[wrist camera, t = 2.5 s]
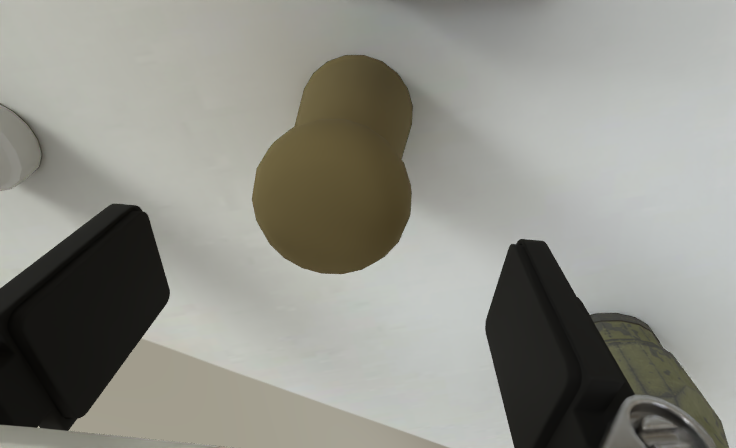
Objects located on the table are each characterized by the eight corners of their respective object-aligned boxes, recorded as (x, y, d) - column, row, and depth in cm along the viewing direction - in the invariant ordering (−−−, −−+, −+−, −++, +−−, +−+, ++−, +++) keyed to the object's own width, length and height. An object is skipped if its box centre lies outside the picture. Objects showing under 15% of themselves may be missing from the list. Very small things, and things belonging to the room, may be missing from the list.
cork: (303, 45, 19) (215, 109, 10) (424, 65, 19) (452, 148, 10) (297, 158, 22) (228, 288, 13) (401, 174, 22) (405, 314, 13)
